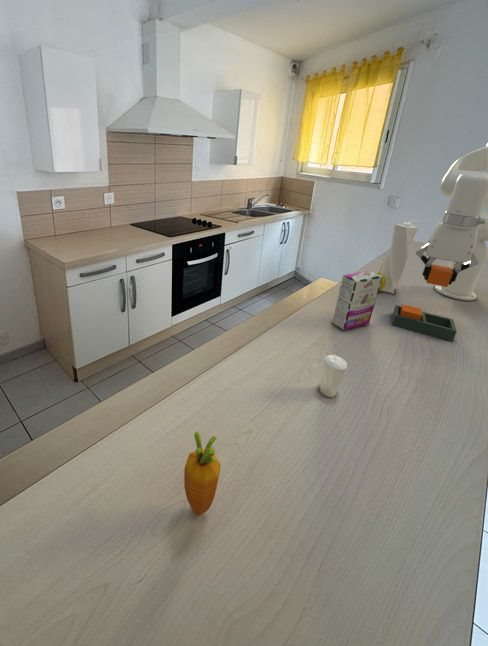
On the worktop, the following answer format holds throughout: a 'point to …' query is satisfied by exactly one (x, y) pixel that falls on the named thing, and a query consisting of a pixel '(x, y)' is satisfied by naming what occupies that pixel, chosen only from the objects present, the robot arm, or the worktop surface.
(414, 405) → the worktop surface
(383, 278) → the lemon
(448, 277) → the loose pad
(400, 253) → the skyscraper
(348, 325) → the candy bar box
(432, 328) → the pad holder
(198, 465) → the carrot
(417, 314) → the seated pad
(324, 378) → the milkshake
